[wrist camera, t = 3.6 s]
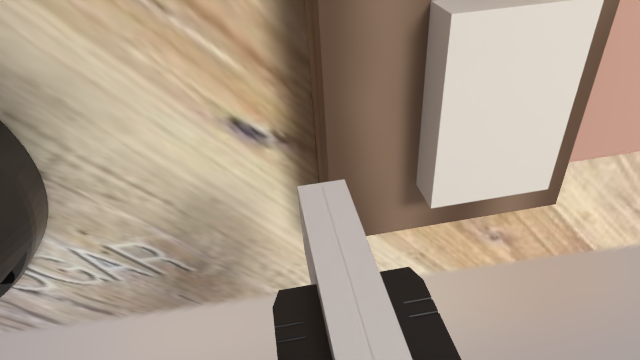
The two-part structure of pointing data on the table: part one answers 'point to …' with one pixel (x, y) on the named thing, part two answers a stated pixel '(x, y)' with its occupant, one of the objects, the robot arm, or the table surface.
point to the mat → (614, 92)
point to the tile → (499, 94)
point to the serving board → (399, 110)
